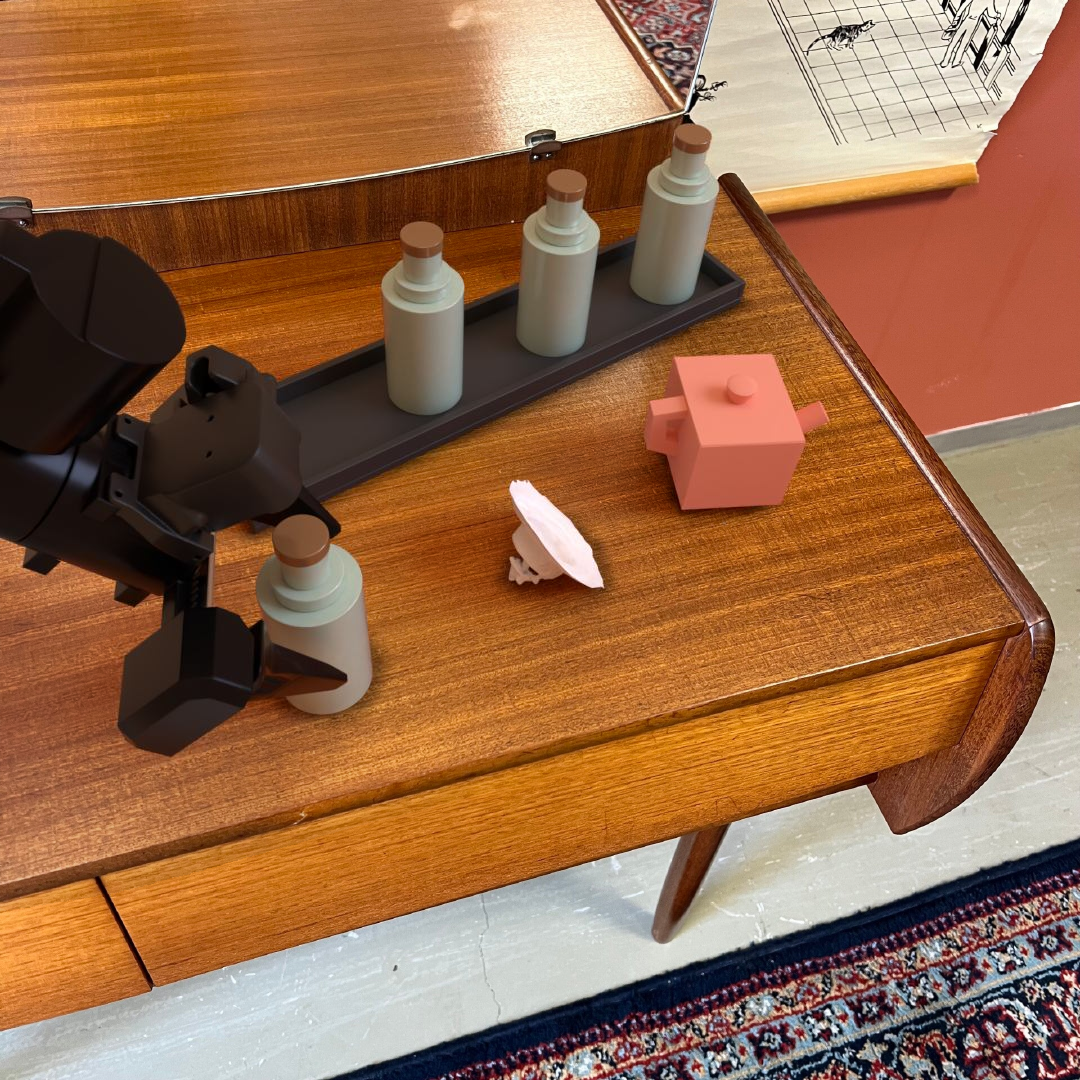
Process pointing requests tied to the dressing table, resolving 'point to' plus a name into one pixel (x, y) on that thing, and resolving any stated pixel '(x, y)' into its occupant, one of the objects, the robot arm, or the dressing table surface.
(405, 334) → the bottle near
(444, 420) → the tray
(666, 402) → the pink cube teapot
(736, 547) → the dressing table surface
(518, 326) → the bottle middle
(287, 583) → the bottle
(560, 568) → the pale pink ornate lid
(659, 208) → the bottle far
